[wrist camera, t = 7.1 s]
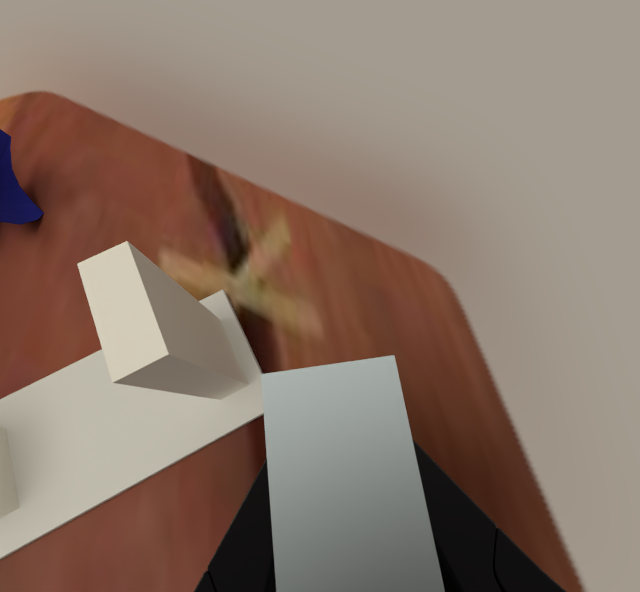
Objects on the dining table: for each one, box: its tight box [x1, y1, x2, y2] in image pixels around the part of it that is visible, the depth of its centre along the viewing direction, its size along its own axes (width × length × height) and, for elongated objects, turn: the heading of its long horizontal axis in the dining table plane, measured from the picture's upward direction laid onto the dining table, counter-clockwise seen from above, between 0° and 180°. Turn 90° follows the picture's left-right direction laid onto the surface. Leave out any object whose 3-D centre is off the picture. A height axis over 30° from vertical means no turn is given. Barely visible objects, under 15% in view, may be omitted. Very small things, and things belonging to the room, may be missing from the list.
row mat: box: [0, 290, 264, 560], centre depth 21 cm, size 9×27×1 cm, turn 118°
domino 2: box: [261, 355, 445, 592], centre depth 9 cm, size 2×5×11 cm, turn 8°
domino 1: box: [77, 241, 249, 400], centre depth 17 cm, size 2×5×11 cm, turn 28°
